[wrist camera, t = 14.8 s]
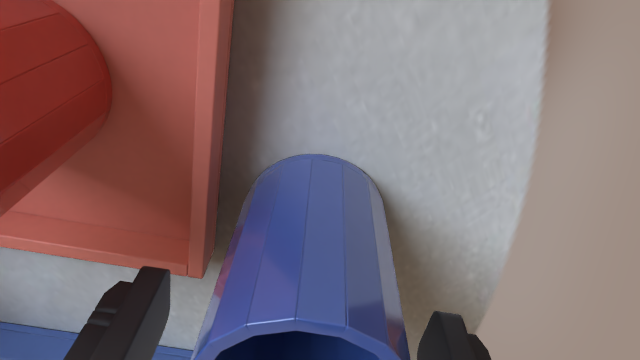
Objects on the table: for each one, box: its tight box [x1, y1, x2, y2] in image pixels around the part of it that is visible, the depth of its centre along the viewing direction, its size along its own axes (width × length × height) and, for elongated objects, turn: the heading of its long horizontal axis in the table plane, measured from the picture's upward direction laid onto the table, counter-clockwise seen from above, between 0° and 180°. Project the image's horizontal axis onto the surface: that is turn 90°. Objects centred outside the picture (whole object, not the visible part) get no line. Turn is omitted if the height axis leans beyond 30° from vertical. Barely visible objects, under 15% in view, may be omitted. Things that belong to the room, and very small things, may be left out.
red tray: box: [0, 0, 234, 279], centre depth 14 cm, size 13×13×2 cm
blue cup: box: [190, 154, 410, 360], centre depth 14 cm, size 6×6×8 cm
